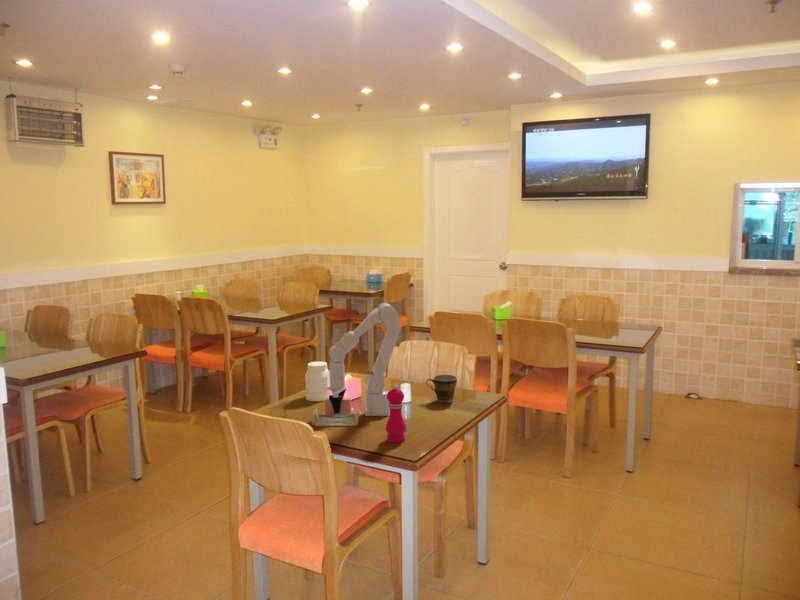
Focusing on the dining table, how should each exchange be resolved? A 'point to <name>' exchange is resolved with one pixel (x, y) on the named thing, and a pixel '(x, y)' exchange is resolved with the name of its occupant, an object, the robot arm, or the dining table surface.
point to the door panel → (344, 406)
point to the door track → (335, 419)
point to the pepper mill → (395, 416)
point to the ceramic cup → (444, 387)
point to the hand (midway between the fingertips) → (338, 410)
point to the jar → (317, 381)
